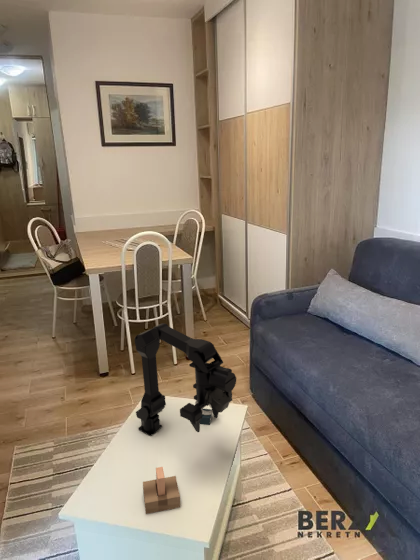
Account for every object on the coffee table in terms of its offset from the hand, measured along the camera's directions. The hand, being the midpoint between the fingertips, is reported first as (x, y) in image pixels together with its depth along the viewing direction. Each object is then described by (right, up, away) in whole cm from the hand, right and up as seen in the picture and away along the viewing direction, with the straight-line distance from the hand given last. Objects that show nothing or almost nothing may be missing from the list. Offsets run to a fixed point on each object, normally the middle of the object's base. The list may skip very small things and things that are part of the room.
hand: (207, 424), depth 132 cm
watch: (-1, -7, +26) cm, 27 cm away
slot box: (-13, -19, -10) cm, 25 cm away
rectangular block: (-13, -19, -10) cm, 25 cm away
